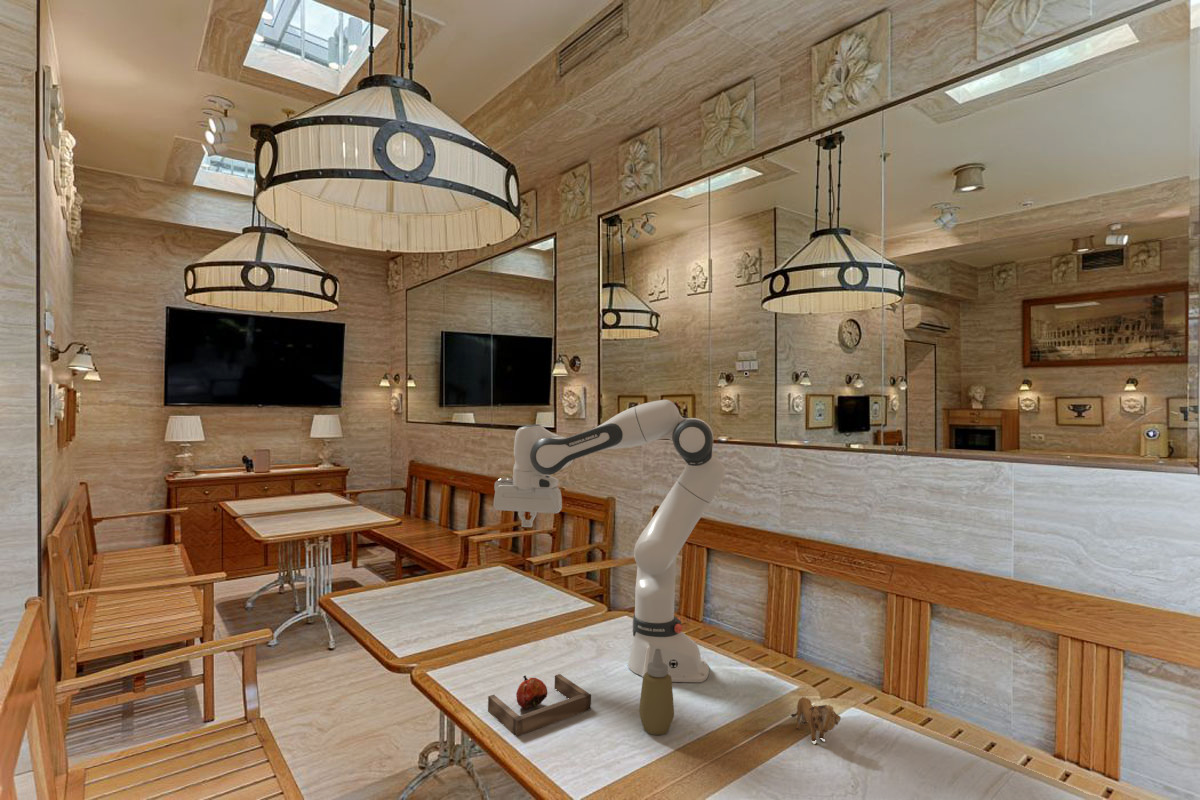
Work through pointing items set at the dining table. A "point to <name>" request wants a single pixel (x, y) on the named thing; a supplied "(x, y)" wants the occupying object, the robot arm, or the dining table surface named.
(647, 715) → the squeeze bottle
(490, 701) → the walnut bay
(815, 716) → the lion figurine
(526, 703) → the red round fruit
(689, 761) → the dining table surface
